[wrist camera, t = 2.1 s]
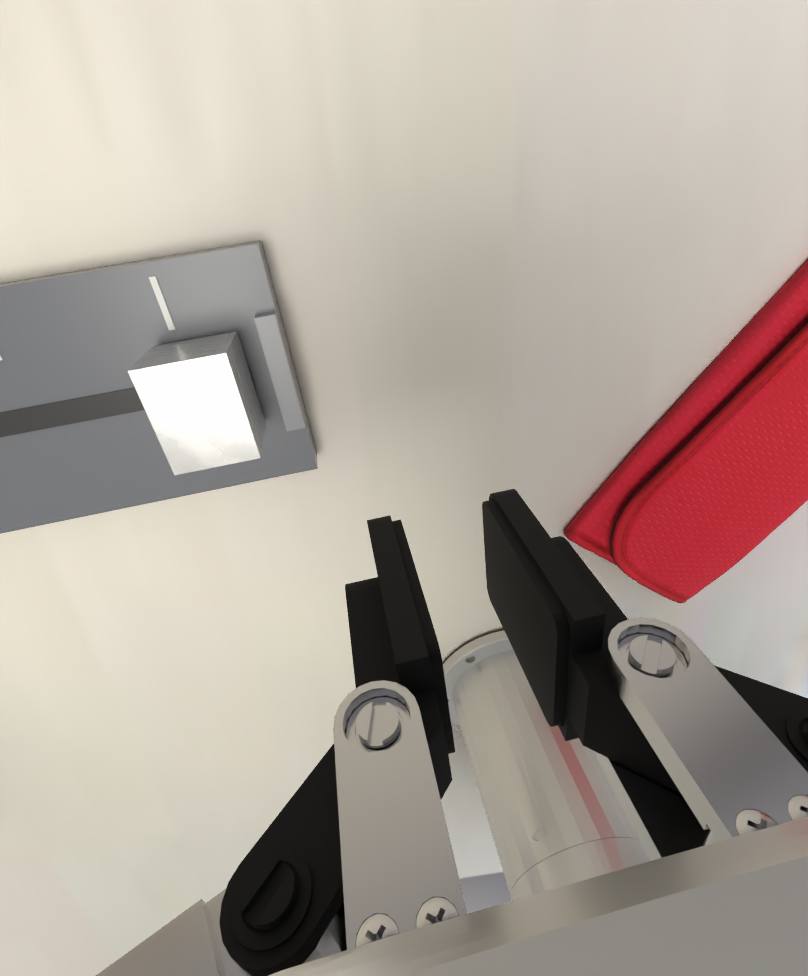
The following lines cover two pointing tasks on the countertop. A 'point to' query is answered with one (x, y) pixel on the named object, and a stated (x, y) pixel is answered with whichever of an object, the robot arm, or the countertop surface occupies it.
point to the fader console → (130, 381)
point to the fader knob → (201, 402)
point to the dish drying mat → (713, 461)
